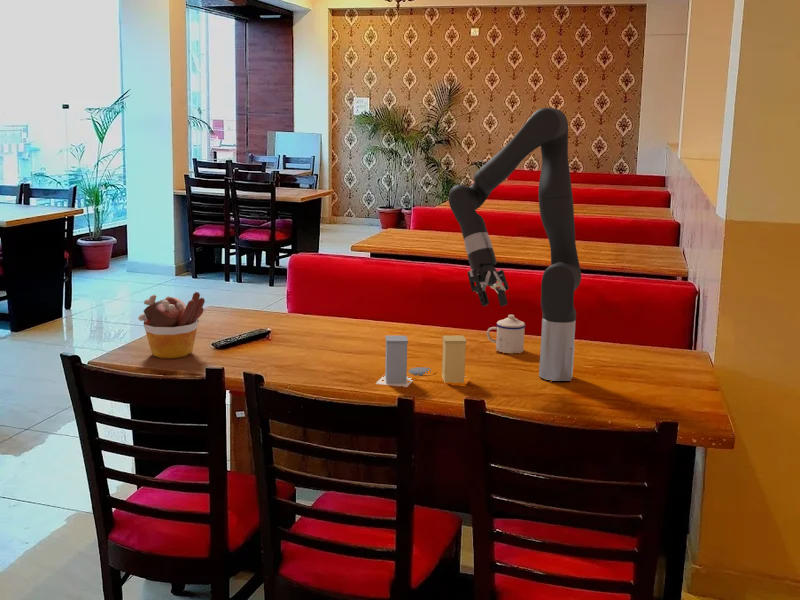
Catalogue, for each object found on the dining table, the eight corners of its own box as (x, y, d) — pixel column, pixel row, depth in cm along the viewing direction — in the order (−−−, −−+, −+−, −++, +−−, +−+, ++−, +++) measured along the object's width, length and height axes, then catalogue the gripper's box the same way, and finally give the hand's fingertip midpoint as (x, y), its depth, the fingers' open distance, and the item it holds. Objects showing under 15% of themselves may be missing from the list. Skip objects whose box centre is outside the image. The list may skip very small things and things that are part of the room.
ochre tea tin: (461, 377, 233) (463, 335, 231) (464, 383, 228) (466, 340, 225) (441, 377, 233) (442, 335, 230) (443, 383, 227) (445, 340, 225)
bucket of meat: (128, 357, 246) (125, 292, 242) (161, 344, 262) (158, 282, 257) (187, 365, 240) (185, 298, 236) (217, 350, 256) (215, 287, 251)
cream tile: (415, 378, 232) (415, 377, 232) (407, 388, 224) (407, 387, 224) (384, 375, 235) (384, 374, 234) (375, 384, 226) (375, 383, 226)
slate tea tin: (405, 377, 232) (406, 335, 230) (407, 383, 226) (408, 340, 224) (384, 377, 232) (385, 335, 229) (385, 383, 226) (386, 340, 223)
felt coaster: (439, 370, 240) (439, 368, 240) (432, 378, 233) (432, 376, 233) (412, 367, 243) (412, 366, 242) (405, 375, 235) (405, 373, 235)
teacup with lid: (525, 348, 266) (527, 313, 263) (522, 355, 257) (524, 319, 255) (488, 345, 269) (489, 310, 266) (484, 352, 260) (485, 316, 257)
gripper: (474, 245, 227) (489, 301, 223) (505, 247, 237) (520, 301, 234) (454, 255, 232) (469, 310, 228) (485, 257, 242) (500, 309, 239)
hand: (495, 305), depth 231 cm, fingers open, 8 cm apart
